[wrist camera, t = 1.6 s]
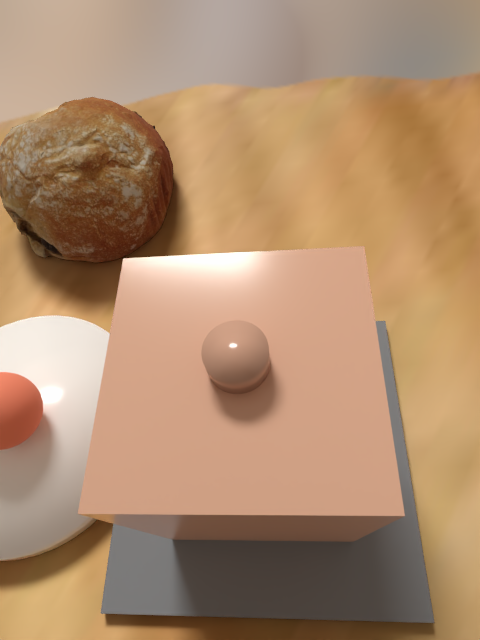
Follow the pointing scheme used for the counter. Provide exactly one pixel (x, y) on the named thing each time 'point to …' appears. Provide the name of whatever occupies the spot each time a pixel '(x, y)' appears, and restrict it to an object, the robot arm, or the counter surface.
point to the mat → (280, 565)
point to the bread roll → (86, 181)
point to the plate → (50, 432)
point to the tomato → (18, 409)
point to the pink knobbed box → (244, 401)
